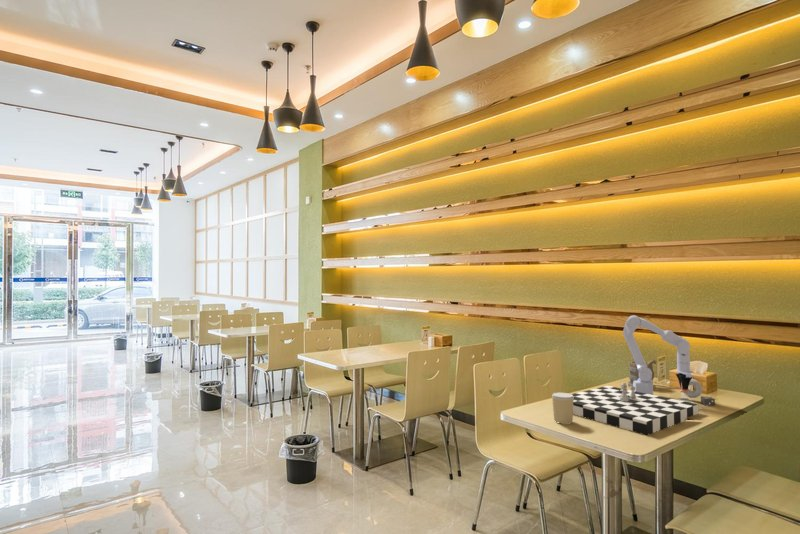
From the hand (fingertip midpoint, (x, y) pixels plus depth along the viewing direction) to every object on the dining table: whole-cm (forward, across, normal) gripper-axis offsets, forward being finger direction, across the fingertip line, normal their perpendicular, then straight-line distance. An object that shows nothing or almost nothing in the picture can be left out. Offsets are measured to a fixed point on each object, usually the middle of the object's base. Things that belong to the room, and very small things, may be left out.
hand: (684, 388), depth 234 cm
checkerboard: (+7, -27, +34) cm, 44 cm away
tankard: (+7, +33, +10) cm, 36 cm away
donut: (+7, +10, -7) cm, 14 cm away
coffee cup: (+7, -48, +64) cm, 81 cm away
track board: (+7, -8, 0) cm, 10 cm away
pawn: (+2, 0, 0) cm, 2 cm away
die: (+7, -8, -8) cm, 13 cm away
